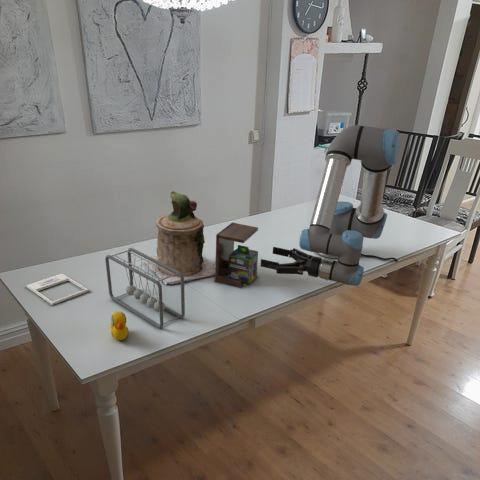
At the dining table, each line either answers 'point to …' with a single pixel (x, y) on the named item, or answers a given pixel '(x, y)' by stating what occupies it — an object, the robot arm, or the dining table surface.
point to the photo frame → (51, 282)
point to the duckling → (119, 326)
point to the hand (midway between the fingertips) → (267, 256)
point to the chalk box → (243, 264)
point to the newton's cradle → (140, 294)
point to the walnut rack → (230, 250)
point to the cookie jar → (181, 243)
